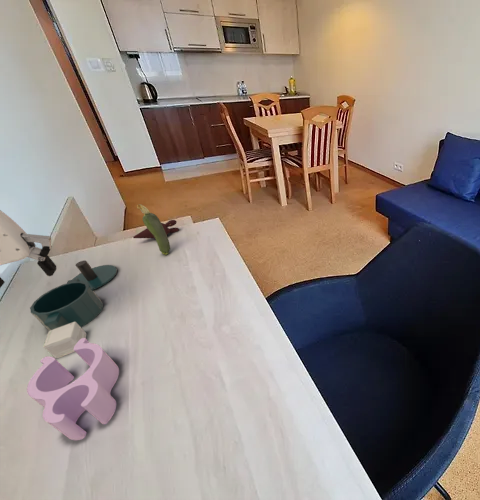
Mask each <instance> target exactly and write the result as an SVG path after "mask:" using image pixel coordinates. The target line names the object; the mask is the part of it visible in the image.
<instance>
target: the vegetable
mask: <svg viewBox="0 0 480 500" xmlns="http://www.w3.org/2000/svg"><path fill="white" fill-rule="evenodd" d="M136 209H137V210H140V212H141V213H142V214H143V216H142V222H143V224H144V226H145V227H146V228H148V229H149V231H150V232H151V233H152V234H153V235H154V237H155V238H154V240H155V241H156V244H157V247H158V249H159V252H161V254H162V255H165V256H168V254H169V253H170V250H171V243H170V241H169V240H170V239H169V237H168V234H167V235H166V232H165V230H164V228H163V226H162V224H161V223H162V222H161V220H160V218H159V217H158V216H157V215H156V214H155V213H154V212H153V213H152V212H151V211H150V210H149V208H148V207H146V206H145V205H143V204H137V205H136Z"/></svg>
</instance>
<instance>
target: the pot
mask: <svg viewBox="0 0 480 500" xmlns="http://www.w3.org/2000/svg"><path fill="white" fill-rule="evenodd" d="M103 307H104V303H103V301H102V300H101V298H100V297H99V296H98V294H97V293H96V292H95V290H93V289H92V288H91V287H90V285H89V284H88V283H87V282H83V281H80V280H79V279H78V278H76V279H73V278H72V279H69V280H67V282H66V283H63V284H61V285H59V286H55V287H53V288H52V289H50V290H48V291H47V292H45V293H43V294H41V295H40V296H39V297H38V298H37V299H35V300H34V302H33V303H32V304H31V306H30V307H29V310H30V314H31V315H32V316H33V317H34V318H35V319H36V320H37V321H38V322H39V323H40V324H41V325H42V326H43V327H44V328H45V329H46V330H47V331H48V332H49V331H51V330H53V329H56V328H59V327H61V326H64V325H67V324H70V323H72V322H76V323H77V324H78V325H79V326H80V327H81V328H82V327H85V326H86V325H88V324H89V323H91V322H92V321H93V320H95V318H97V317H98V316H99V315H100V314H101V312H102V311H103Z"/></svg>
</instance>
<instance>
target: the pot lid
mask: <svg viewBox="0 0 480 500" xmlns="http://www.w3.org/2000/svg"><path fill="white" fill-rule="evenodd" d="M75 266H76V268H77V269H78V271H79V272H80V273H79V274H77V275H75V276H74V277H73V278H72V279H76V278H78V279H79V280H80V281H83V282H87V283H88V284H89V285H90V287H91V288H92V289H93V291H95V290H97V289H99V288H101V287H102V286H105V285H106V284H107V283H109V282H110V281H111V280H112V279H114V278H115V276H116V275H117V274H118V268H117V267H116V266H115V265H111V264H103V265H98V266H94V267H92V266H91V265H90V264H89V263H88V261H87V260H85V259H84V260H80V261H78V262H77V263H75Z"/></svg>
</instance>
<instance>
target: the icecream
mask: <svg viewBox="0 0 480 500" xmlns="http://www.w3.org/2000/svg"><path fill="white" fill-rule="evenodd" d="M177 222H178V221H177V220H175V219H169V220H168V221H167V222H165V223H163V222H161V224H162V226H163V228H164V230H165V232H166V235H167V236H168V234H174V233H177V232H179V231H180V228H179V227H173V226H176V225H177ZM133 239H155V237H154V235H153V234H152V233H151V232H150V231H149V229H148V228H147V227H146V228H144V229H143V230H142V231H140V232H139V233H137V234H135V235H134V236H133Z"/></svg>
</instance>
